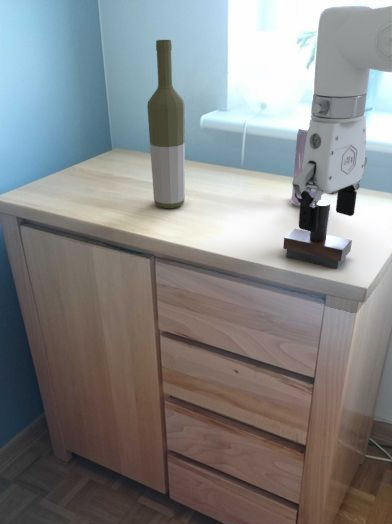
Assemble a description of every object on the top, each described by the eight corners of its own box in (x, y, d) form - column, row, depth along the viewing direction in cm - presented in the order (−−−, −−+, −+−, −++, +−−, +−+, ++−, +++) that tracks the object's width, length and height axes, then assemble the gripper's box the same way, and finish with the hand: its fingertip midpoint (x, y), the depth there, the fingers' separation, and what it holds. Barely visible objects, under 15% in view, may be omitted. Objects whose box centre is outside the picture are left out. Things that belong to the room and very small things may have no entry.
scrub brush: (349, 259, 93) (357, 204, 88) (339, 270, 90) (347, 213, 84) (293, 247, 97) (298, 193, 92) (282, 257, 94) (286, 202, 89)
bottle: (193, 205, 115) (191, 40, 99) (165, 213, 112) (158, 43, 95) (173, 196, 120) (168, 37, 103) (146, 203, 117) (136, 40, 100)
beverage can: (324, 201, 117) (333, 125, 108) (313, 210, 112) (322, 132, 104) (298, 196, 119) (305, 122, 111) (286, 204, 115) (292, 128, 107)
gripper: (322, 120, 73) (312, 243, 82) (394, 101, 82) (377, 213, 92) (278, 113, 78) (273, 230, 87) (350, 96, 87) (339, 203, 97)
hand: (326, 221), depth 89 cm, fingers open, 9 cm apart
